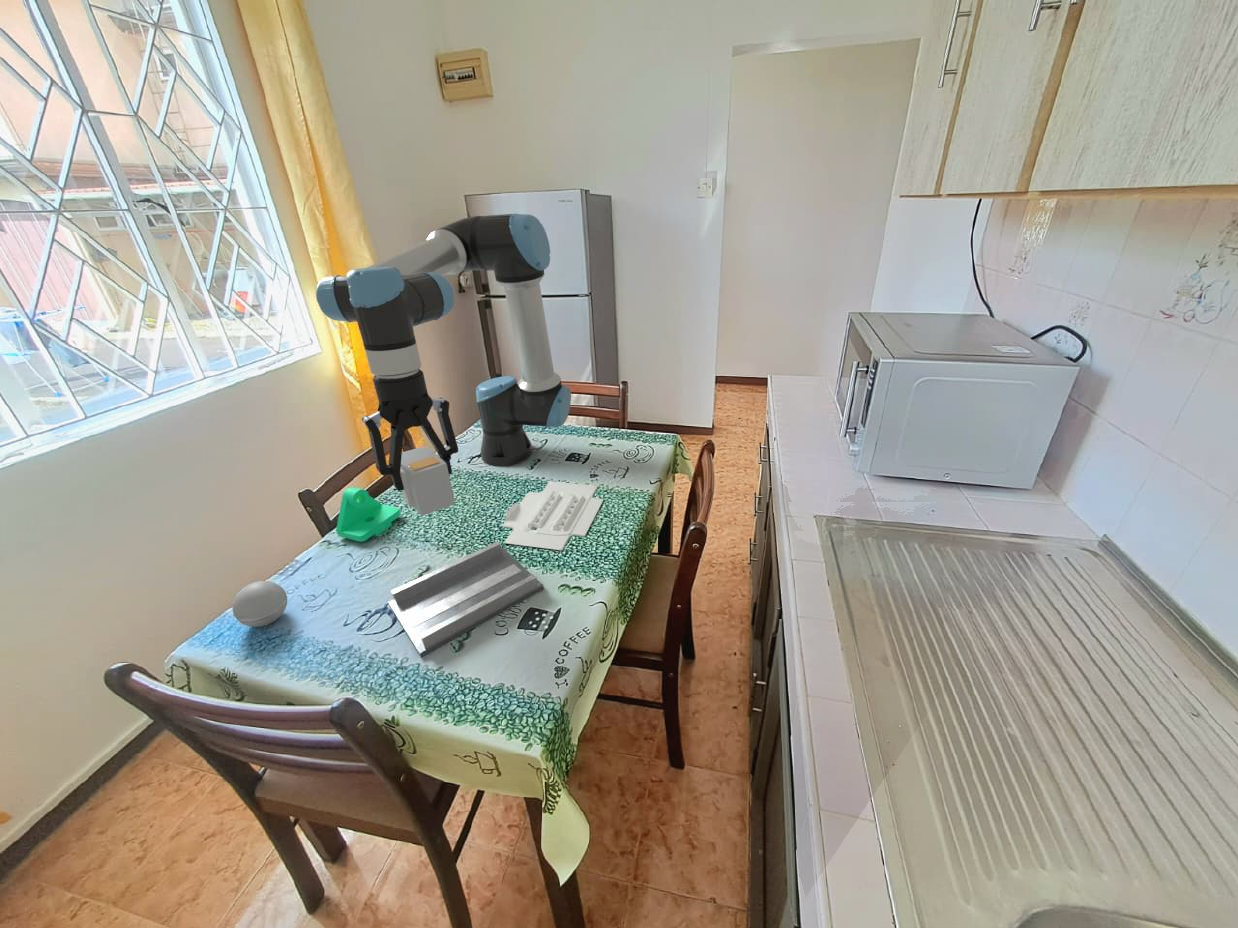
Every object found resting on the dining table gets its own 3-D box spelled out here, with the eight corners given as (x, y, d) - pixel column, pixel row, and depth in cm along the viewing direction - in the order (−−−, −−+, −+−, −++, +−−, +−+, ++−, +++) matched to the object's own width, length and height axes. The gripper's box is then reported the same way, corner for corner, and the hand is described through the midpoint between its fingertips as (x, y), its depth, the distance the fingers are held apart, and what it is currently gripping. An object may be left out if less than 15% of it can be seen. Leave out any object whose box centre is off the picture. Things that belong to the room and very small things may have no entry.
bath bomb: (282, 598, 95) (266, 566, 91) (301, 614, 91) (286, 581, 87) (235, 624, 89) (216, 591, 85) (254, 643, 85) (235, 609, 81)
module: (435, 483, 93) (425, 444, 90) (455, 503, 86) (446, 462, 82) (403, 494, 90) (392, 454, 86) (421, 516, 83) (410, 473, 79)
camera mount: (364, 546, 109) (350, 507, 104) (339, 539, 112) (325, 501, 107) (403, 517, 119) (392, 481, 114) (380, 512, 122) (368, 476, 117)
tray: (610, 489, 128) (609, 477, 126) (577, 559, 104) (576, 546, 102) (537, 483, 132) (535, 471, 131) (491, 548, 109) (487, 535, 107)
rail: (503, 551, 105) (501, 538, 103) (543, 589, 94) (541, 575, 92) (389, 606, 92) (385, 592, 90) (421, 657, 81) (416, 642, 79)
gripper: (446, 356, 85) (469, 473, 96) (326, 380, 75) (367, 507, 85) (463, 364, 80) (486, 487, 90) (337, 391, 70) (379, 525, 80)
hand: (428, 497), depth 88 cm, fingers closed on module, 6 cm apart
